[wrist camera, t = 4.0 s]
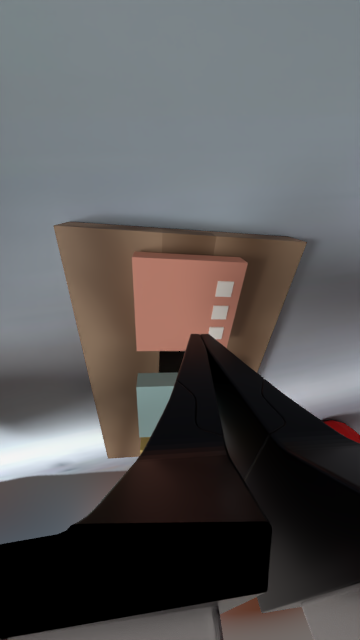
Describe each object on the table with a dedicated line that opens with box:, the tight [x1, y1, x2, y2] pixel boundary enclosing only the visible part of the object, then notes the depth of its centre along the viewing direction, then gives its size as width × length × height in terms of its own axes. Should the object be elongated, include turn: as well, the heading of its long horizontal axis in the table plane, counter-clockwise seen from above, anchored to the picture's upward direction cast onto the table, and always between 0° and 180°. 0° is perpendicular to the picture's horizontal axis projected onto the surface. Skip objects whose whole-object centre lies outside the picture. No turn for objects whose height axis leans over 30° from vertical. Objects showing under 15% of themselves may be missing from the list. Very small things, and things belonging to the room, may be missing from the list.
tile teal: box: [136, 373, 178, 438], centre depth 16 cm, size 6×6×3 cm
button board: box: [54, 222, 307, 458], centre depth 18 cm, size 14×24×2 cm, turn 176°
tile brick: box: [132, 252, 248, 351], centre depth 13 cm, size 6×6×3 cm
